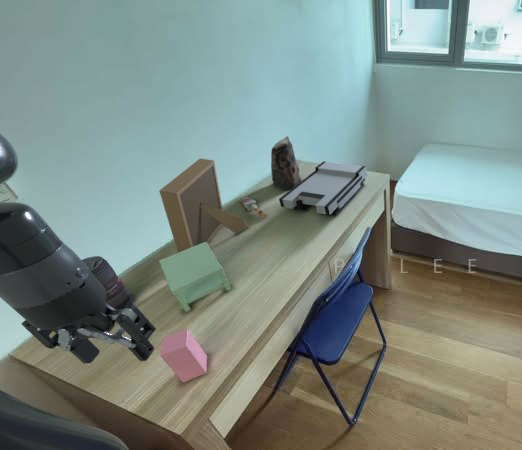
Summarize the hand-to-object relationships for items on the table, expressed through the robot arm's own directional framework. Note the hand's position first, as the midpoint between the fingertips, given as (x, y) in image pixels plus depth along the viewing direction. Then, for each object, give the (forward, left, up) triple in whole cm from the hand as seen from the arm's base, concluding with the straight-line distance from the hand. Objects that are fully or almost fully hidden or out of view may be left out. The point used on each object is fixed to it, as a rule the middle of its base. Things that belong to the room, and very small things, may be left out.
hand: (120, 356), depth 48 cm
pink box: (+9, -5, -20) cm, 22 cm away
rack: (+36, -13, -20) cm, 43 cm away
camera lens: (+43, +6, -20) cm, 48 cm away
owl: (+78, -59, -20) cm, 99 cm away
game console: (+52, -65, -20) cm, 86 cm away
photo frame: (+55, -23, -20) cm, 63 cm away
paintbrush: (+66, -39, -17) cm, 79 cm away
